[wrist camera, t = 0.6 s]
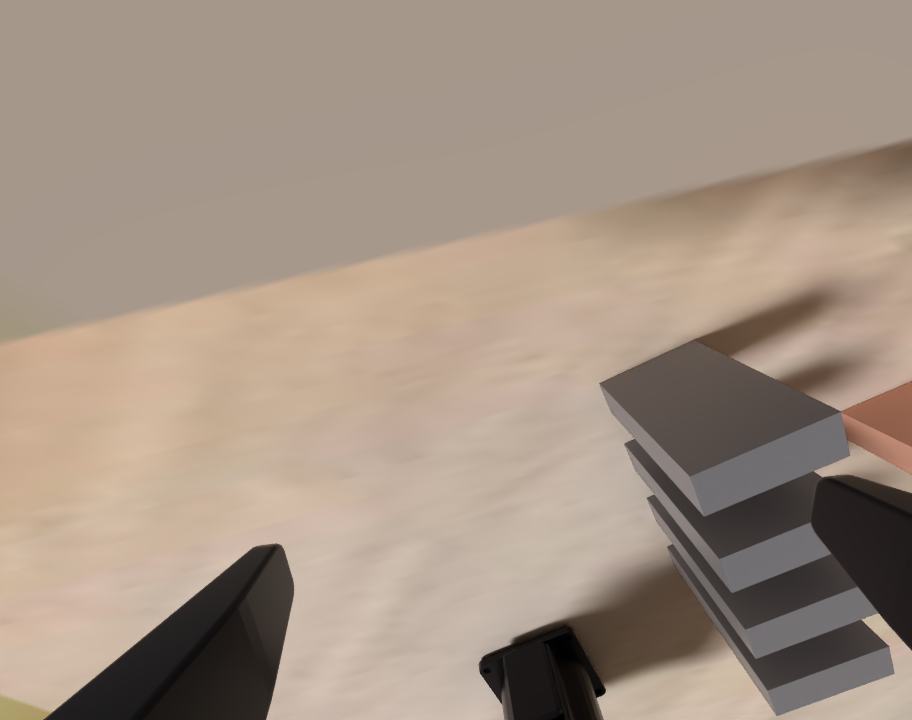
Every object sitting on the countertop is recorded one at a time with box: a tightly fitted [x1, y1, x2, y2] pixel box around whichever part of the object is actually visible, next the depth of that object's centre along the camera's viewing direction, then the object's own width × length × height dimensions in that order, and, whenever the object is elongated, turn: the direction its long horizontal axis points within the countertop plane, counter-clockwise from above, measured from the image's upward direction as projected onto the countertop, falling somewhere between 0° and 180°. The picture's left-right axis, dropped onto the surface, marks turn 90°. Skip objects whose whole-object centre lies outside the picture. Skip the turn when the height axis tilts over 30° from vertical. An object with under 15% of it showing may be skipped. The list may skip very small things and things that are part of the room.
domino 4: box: [625, 439, 831, 593], centre depth 19 cm, size 2×5×8 cm, turn 117°
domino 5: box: [600, 340, 850, 517], centre depth 18 cm, size 2×5×8 cm, turn 116°
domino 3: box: [647, 495, 878, 659], centre depth 20 cm, size 2×5×8 cm, turn 117°
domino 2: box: [667, 545, 894, 716], centre depth 21 cm, size 2×5×8 cm, turn 116°
